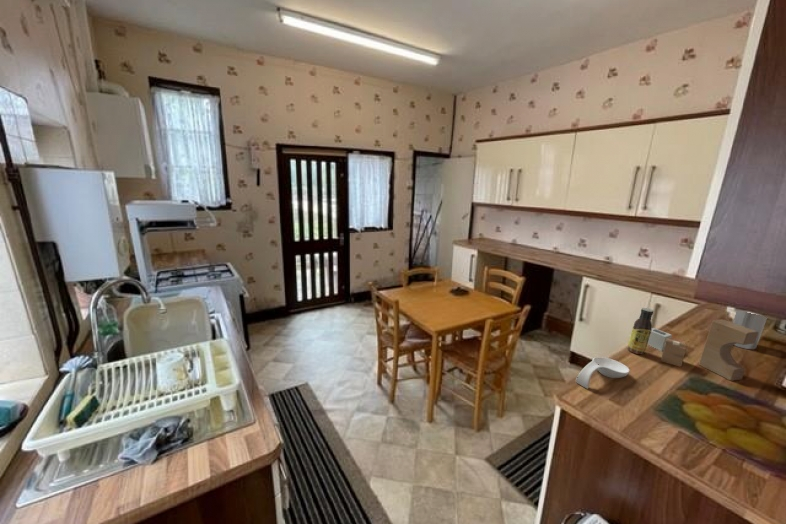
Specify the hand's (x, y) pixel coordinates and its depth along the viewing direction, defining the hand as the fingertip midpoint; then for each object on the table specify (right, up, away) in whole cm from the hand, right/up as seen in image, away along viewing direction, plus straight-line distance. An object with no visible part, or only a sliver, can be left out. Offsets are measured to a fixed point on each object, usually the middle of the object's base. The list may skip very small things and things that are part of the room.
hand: (743, 298), depth 114 cm
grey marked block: (-10, -25, +27) cm, 38 cm away
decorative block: (0, -30, +8) cm, 31 cm away
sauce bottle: (-22, -26, +22) cm, 41 cm away
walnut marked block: (-13, -28, +15) cm, 34 cm away
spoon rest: (-50, -31, +4) cm, 59 cm away
